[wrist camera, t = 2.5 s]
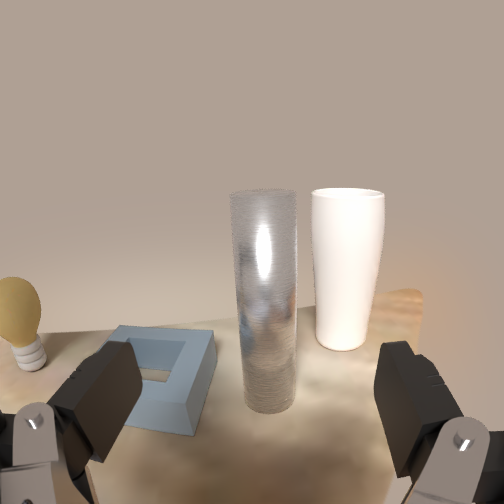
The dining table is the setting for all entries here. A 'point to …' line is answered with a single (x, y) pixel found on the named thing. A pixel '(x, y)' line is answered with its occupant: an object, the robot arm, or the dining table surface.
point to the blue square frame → (171, 376)
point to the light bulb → (21, 322)
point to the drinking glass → (345, 262)
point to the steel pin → (266, 294)
